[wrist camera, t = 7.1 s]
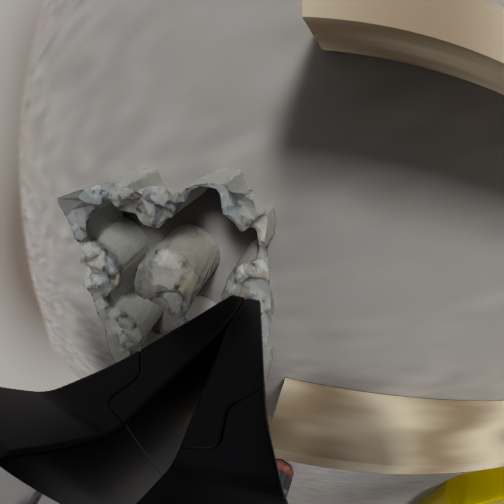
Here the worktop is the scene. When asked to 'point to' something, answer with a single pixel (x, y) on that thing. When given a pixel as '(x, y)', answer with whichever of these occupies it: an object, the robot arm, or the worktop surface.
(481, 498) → the element tile
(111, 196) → the egg carton
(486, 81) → the open wooden frame
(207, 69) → the worktop surface
